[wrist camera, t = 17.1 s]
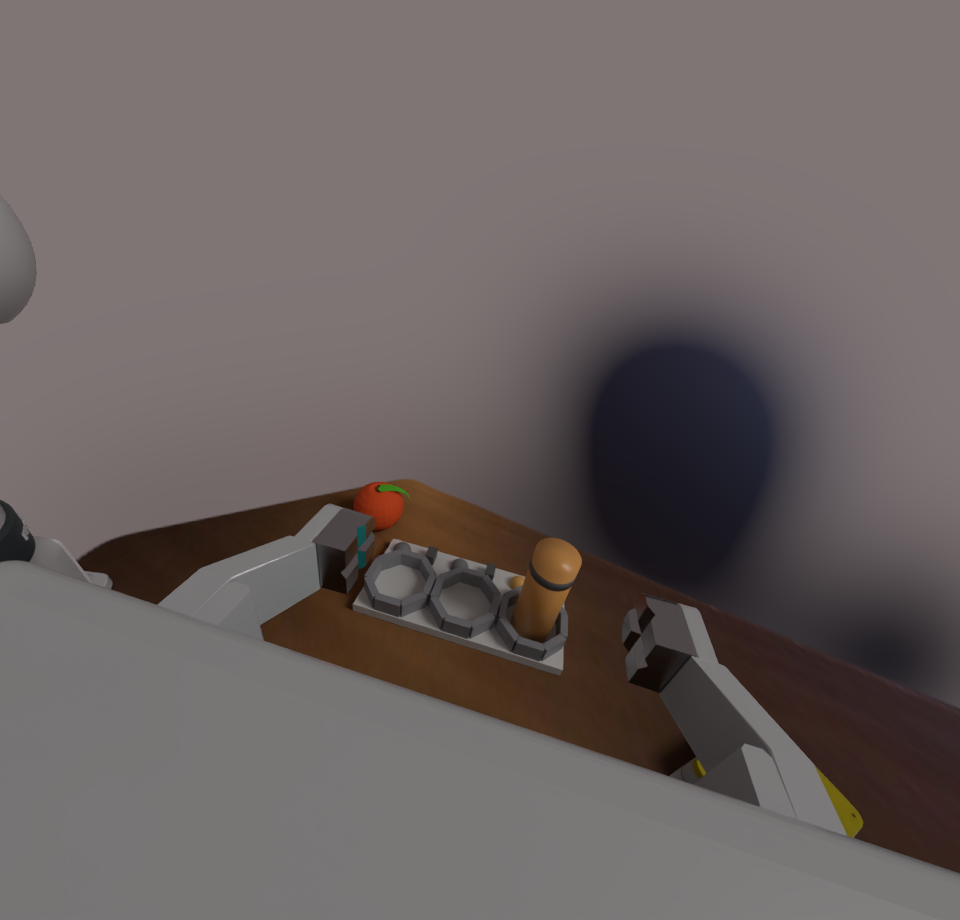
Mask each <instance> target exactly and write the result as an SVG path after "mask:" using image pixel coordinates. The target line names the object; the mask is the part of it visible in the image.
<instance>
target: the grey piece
mask: <svg viewBox="0 0 960 920" xmlns="http://www.w3.org/2000/svg"><path fill="white" fill-rule="evenodd" d="M524 580H525V577H524V576H521V575H517V574H514V573H510V572H507V571H504V570H500V569H497V568H496V565H493V564H490V563H487V566H486V565H483V564H479V563H476V562H473V561H469V560H466V559H462V558H459V557H455V556H452V555H449V554H445V553H442V552H438V548H435V547H431V546H429V548H424V547H421V546H418V545H414V544H411V543H407V542H404V541H400V540H397V539H393V540H392V542H391V543H390V545H389V547H388V548H387V550H386V551H385V553H384V554H383V555H379V556H378V558H377V557H376V558H375V560H374V561H373V563H372V564H371V566H370V568H369V569H368V571H367V572H366V574H365V577H364V587H363V588H362V590H361V592H360V593H359V595H358V596H357V598H356V600H355V601H354V603H353V611H356V612H359V613H362V614H365V615H368V616H371V617H375V618H378V619H381V620H384V621H387V622H390V623H394V624H397V625H400V626H403V627H406V628H409V629H413V630H416V631H419V632H422V633H425V634H428V635H432V636H435V637H438V638H441V639H444V640H447V641H451V642H454V643H457V644H460V645H463V646H466V647H470V648H473V649H476V650H479V651H482V652H485V653H489V654H492V655H495V656H498V657H501V658H504V659H508V660H511V661H514V662H517V663H520V664H523V665H527V666H530V667H533V668H536V669H539V670H542V671H546V672H549V673H552V674H555V675H558V676H560V675H561V673H562V671H563V645H564V643H565V641H566V639H567V637H568V614H566V613H567V612H566V611H565V609H564V603H563V606H562V608H561V610H560V612H559V614H558V616H557V619H556V621H555V623H554V625H553V627H552V629H551V632H550V634H549V636H548V638H547V640H546V641H545V642H544V643H539V642H536V641H533V640H529V639H526V638H523V637H520V636H519V635H518V634H517V632H516V631H515V629H514V628H513V627H512V625H511V624H510V621H511V617H512V614H513V611H514V608H515V605H516V603H517V600H518V597H519V594H520V591H521V588H522V585H523V583H524Z"/></svg>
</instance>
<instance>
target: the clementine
mask: <svg viewBox="0 0 960 920" xmlns="http://www.w3.org/2000/svg"><path fill="white" fill-rule="evenodd" d="M400 492H402V493H405V494H406V495H408V494H407V493H406V492H405V491H404V490H403V489H401V488H399V487H396V486H393V485H391V484H388V483H385V482H374V483H370V484H367V485H366V486H364V487H363V488H362V489H361V490H360V491H359V492H358V493H357V495H356V497H355V500H354V504H353V509H354V511H356V512H359V513H363V514H366V515H369V516H372V517H374V518H375V519H376V527H375V528H374V530H378V531H379V530H384V529H387V528H389V527H391V526H393V525H394V524H395V523H396V522H397V521H398V520H399V518H400V516H401V515H402V511H403V499H402V496H401V494H400ZM408 496H409V495H408ZM409 498H410V497H409ZM410 500H411V499H410Z"/></svg>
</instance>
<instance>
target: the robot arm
mask: <svg viewBox="0 0 960 920" xmlns="http://www.w3.org/2000/svg"><path fill="white" fill-rule="evenodd" d="M35 281H36V260H35V255H34V252H33V248H32V245H31V242H30V240H29V237H28V235H27V233H26V231H25V229H24V227H23V225H22V223H21V222H20V220H19V218H18V217H17V216H16V214H15V213H14V211H13V210H12V208H11V207H10V205H9V204H8V203H7V202H6V201H5V200H4V198H3V197H2V196H1V195H0V324H2V323H7V322H10V321H11V320H13V319H14V318H15V317H16V316H17V315H18V314H19V313H20V312H21V311H22V310H23V308H24V307H25V306H26V305H27V303H28V301H29V299H30V297H31V296H32V292H33V290H34V286H35ZM375 527H376V519H375V518H374V517H372V516H369V515H366V514H363V513H359V512H356V511H353V510H350V509H347V508H342V507H339V506H336V505H333V504H327V505H325V506H324V507H323V508H322V509H321V510H320V511H319V512H318V513H317V514H316V515H315V516H314V517H313V518H312V519H311V520H310V521H309V522H308V523H307V524H306V525H305V526H304V527H303V528H302V529H301V530H300V531H299V532H298V533H297V534H296V535H295V536H294V537H293V536H287V537H284V538H282V539H279V540H276V541H274V542H271V543H268V544H265V545H263V546H260V547H257V548H255V549H252V550H249V551H246V552H244V553H241V554H238V555H236V556H233V557H230V558H227V559H225V560H222V561H219V562H217V563H214V564H211V565H208V566H206V567H203V568H200V569H199V570H198V571H197V572H196V573H195V574H193V575H192V576H191V577H190V578H189V579H187V580H186V581H185V582H184V583H183V584H181V585H180V586H179V587H178V588H177V589H176V590H174V591H173V592H172V593H171V594H170V595H168V596H167V597H166V598H165V599H164V600H163V601H161V602H160V603H159V604H158V605H155V604H152V603H149V602H146V601H143V600H140V599H137V598H134V597H131V596H129V595H126V594H123V593H120V592H117V591H114V590H111V587H112V580H111V579H110V578H109V577H108V576H107V575H106V574H103V573H95V572H87V571H83V569H82V568H81V567H80V565H79V564H78V563H77V561H76V560H75V559H74V558H73V557H72V555H71V554H70V553H69V551H68V550H67V549H66V548H65V546H64V545H63V544H62V543H61V542H60V541H59V540H57V539H47V538H43V537H33V536H32V535H31V533H30V532H29V528H28V526H27V524H26V522H25V521H24V520H23V519H22V517H21V516H20V515H19V514H18V513H16V512H15V511H14V510H13V508H12V507H11V506H10V505H9V504H7V503H5V502H4V501H2V500H0V920H960V873H957V872H954V871H951V870H948V869H945V868H942V867H939V866H936V865H933V864H930V863H927V862H924V861H921V860H918V859H915V858H912V857H909V856H906V855H903V854H900V853H897V852H894V851H891V850H888V849H885V848H882V847H879V846H876V845H873V844H870V843H867V842H864V841H861V840H858V839H855V838H852V837H849V836H847V834H846V831H845V829H844V827H843V825H842V823H841V821H840V819H839V817H838V815H837V812H836V810H835V808H834V806H833V804H832V802H831V800H830V798H829V795H828V793H827V791H826V789H825V787H824V785H823V783H822V781H821V779H820V776H819V774H818V772H817V770H816V768H815V766H814V764H813V763H812V762H811V761H810V760H809V758H808V757H807V756H806V755H805V754H804V753H803V752H802V751H801V750H800V749H799V747H798V746H797V745H796V744H795V743H794V742H793V741H792V740H791V739H790V738H789V736H788V735H787V734H786V733H785V732H784V731H783V730H782V729H781V728H780V727H779V725H778V724H777V723H776V722H775V721H774V720H773V719H772V718H771V717H770V715H769V714H768V713H767V712H766V711H765V710H764V709H763V708H762V707H761V706H760V704H759V703H758V702H757V701H756V700H755V699H754V698H753V697H752V696H751V695H750V693H749V692H748V691H747V690H746V689H745V688H744V687H743V686H742V685H741V684H740V682H739V681H738V680H737V679H736V678H735V677H734V676H733V675H732V674H731V673H730V671H729V670H728V669H727V668H726V667H725V666H723V665H720V664H719V663H718V661H717V658H716V655H715V653H714V650H713V647H712V644H711V642H710V639H709V636H708V633H707V631H706V628H705V625H704V622H703V620H702V617H701V614H700V612H699V611H698V610H697V609H696V608H693V607H689V606H686V605H682V604H679V603H675V602H671V601H668V600H664V599H660V598H657V597H653V596H649V595H646V594H642V593H641V594H640V595H638V597H637V598H636V600H635V601H634V602H635V609H632V610H630V611H628V613H627V615H626V617H625V618H624V622H623V627H622V639H623V644H624V646H625V647H626V649H627V650H628V652H629V653H628V655H627V656H626V658H625V663H626V670H627V677H628V682H629V683H632V684H635V685H638V686H641V687H644V688H646V689H649V690H652V691H655V692H658V693H660V694H659V695H660V697H661V698H662V700H663V702H664V703H665V705H666V707H667V708H668V710H669V712H670V714H671V715H672V717H673V719H674V720H675V722H676V724H677V725H678V727H679V729H680V730H681V732H682V734H683V735H684V737H685V739H686V740H687V742H688V744H689V745H690V747H691V749H692V750H693V752H694V754H695V755H696V757H697V759H698V760H699V762H700V764H701V765H702V767H703V769H704V770H705V772H706V774H705V775H704V776H703V777H701V778H700V779H699V780H698V781H696V782H695V783H694V784H690V783H687V782H684V781H681V780H678V779H675V778H672V777H669V776H666V775H663V774H660V773H658V772H655V771H652V770H649V769H646V768H643V767H640V766H637V765H634V764H631V763H628V762H625V761H622V760H619V759H616V758H613V757H610V756H607V755H604V754H601V753H598V752H595V751H592V750H589V749H586V748H583V747H580V746H577V745H574V744H571V743H568V742H565V741H562V740H559V739H556V738H553V737H550V736H547V735H544V734H541V733H538V732H535V731H532V730H529V729H526V728H523V727H520V726H517V725H514V724H511V723H508V722H505V721H502V720H499V719H496V718H493V717H490V716H487V715H484V714H481V713H478V712H475V711H472V710H469V709H466V708H463V707H460V706H457V705H454V704H451V703H448V702H445V701H442V700H439V699H436V698H433V697H430V696H427V695H424V694H421V693H418V692H415V691H412V690H409V689H406V688H403V687H400V686H397V685H394V684H391V683H388V682H385V681H382V680H379V679H376V678H373V677H370V676H367V675H364V674H361V673H358V672H355V671H352V670H349V669H346V668H343V667H340V666H337V665H334V664H331V663H328V662H325V661H322V660H319V659H316V658H313V657H310V656H307V655H304V654H301V653H298V652H295V651H292V650H290V649H287V648H284V647H281V646H278V645H275V644H272V643H269V642H266V641H264V639H263V635H262V631H261V628H260V625H261V624H262V623H264V622H266V621H267V620H269V619H271V618H272V617H274V616H276V615H277V614H279V613H281V612H282V611H284V610H286V609H287V608H289V607H291V606H292V605H294V604H295V603H297V602H299V601H300V600H302V599H304V598H305V597H307V596H309V595H310V594H312V593H314V592H315V591H317V590H319V589H320V587H322V588H326V589H329V590H333V591H336V592H340V593H343V594H348V592H349V591H350V589H351V588H352V586H353V585H354V583H355V582H356V580H357V579H358V570H359V569H361V568H363V567H365V566H366V565H367V563H368V562H369V560H370V558H371V556H372V554H373V551H374V547H375V539H376V537H375V536H374V534H373V533H372V531H373V530H374V528H375Z"/></svg>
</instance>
